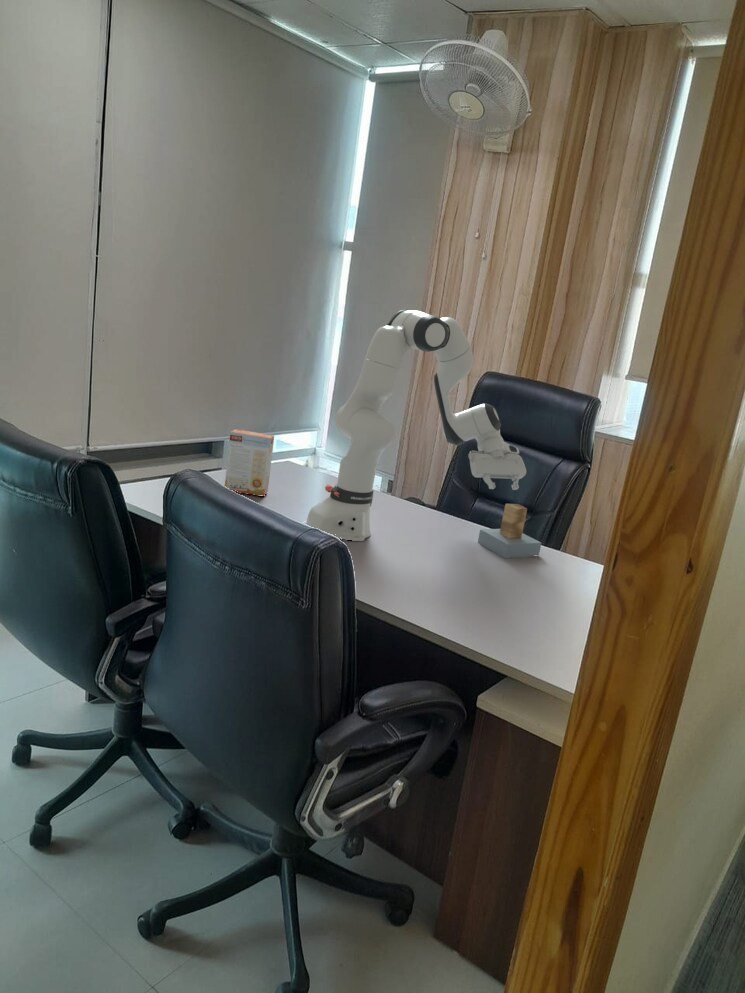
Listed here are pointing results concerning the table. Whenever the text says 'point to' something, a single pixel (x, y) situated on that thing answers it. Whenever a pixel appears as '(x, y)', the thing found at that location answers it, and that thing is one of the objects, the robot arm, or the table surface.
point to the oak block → (513, 521)
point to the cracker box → (249, 462)
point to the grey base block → (508, 544)
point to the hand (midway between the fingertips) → (504, 488)
